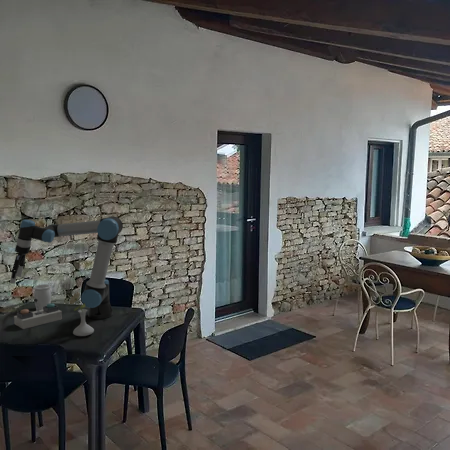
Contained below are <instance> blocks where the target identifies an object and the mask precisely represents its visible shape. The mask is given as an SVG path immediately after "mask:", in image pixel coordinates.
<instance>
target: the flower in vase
mask: <svg viewBox="0 0 450 450" xmlns="http://www.w3.org/2000/svg"><path fill="white" fill-rule="evenodd" d="M80 297H81V293H80V292H76V293H74V295H73V296H71V297H70V300H69V302H68V303H69V305H74V303H75V302H77V304H78V306H76V307H74V309H73V312H75V311H77V312H78V313H79V316H80V324H79V325H78V326H76V327H75V328H74V329H73V331H72V334H73V335H74V336H77V337H86V336H87V337H88V336H89V335H92V334H94V332H95V328H93V327H92V326H90V325H89V324H87V322H86V313H88V309H85V308H86V306H85V303H84V304H83V303H82V304H81V305H80V302H79V298H80Z"/></svg>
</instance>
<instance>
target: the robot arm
mask: <svg viewBox="0 0 450 450" xmlns="http://www.w3.org/2000/svg"><path fill="white" fill-rule="evenodd" d="M123 226H124V225H123V221H122V220H121V218H119V217H117V216H114V215H112V216H108V217H100V218H99V220H89V221H80V222H70V223H69V222H68V223H60V224H54V223H53V224H49V225H47V226H45V227H42V226H37V225H36V222H35V221H34V220H32V219H22V220H21V222H20V226H19V231H18V235H17V238H16V239H15V240H16V245H15V249H14V251H15V253H17V255H16V256H15V259H14V262H13V265H12V268H11V270H10V273H11V275H10V280H9V283H10V284H12V285H15V284H16V280H17V278H22V274H23V270H24V267H26V264H25V263H26V255H27V254H29V252H30V247H31V244H32V239H34V240H38V241H41V242H44V243H52V242H53V241H54V239H55V238H59V237H70V236H78V235H90V234H96V241H97V242H98V243H97V247H96V252H95V256H94V260H93V263H92V268H91V272H90V273H91V274H90V277H89V280H88V281H86V284H85V286H84V291H83V292H82V293H81V295H80V300H81V303H82V305H83V304H84V303H85V307H86V308H88V310H87V317H88V318H89V319H93V320H102V319H108V318H110V317H112V316H113V315H114V313H113V312H114V311H113V308H112V305H111V303H110V302H111V301H110V281H109V280H108V279H106V276H107V272H108V270H109V269H108V268H109V264H110V260H111V256H112V252H113V248H114V245H115V244H117V242H118V238H119V234H120V233H121V232H122V231H123V228H124V227H123Z"/></svg>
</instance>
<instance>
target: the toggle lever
mask: <svg viewBox="0 0 450 450" xmlns="http://www.w3.org/2000/svg"><path fill="white" fill-rule="evenodd" d="M37 301H38V300H37V299H35V298H34V299H33V302H34V305H35V309H36V310H35V311H37V312H39V307H38V302H37Z"/></svg>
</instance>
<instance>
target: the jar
mask: <svg viewBox="0 0 450 450" xmlns="http://www.w3.org/2000/svg"><path fill="white" fill-rule="evenodd" d="M51 287H52V285H50V284H38V285H35V286H33V289H34V292H33V293H34V295H33V296H34V297H33V298H34V299H37V300H38V301H37V302H38V307H39V310H43V307H44V306H47V304H50V303H52V302H51V301H52V289H51Z"/></svg>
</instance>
